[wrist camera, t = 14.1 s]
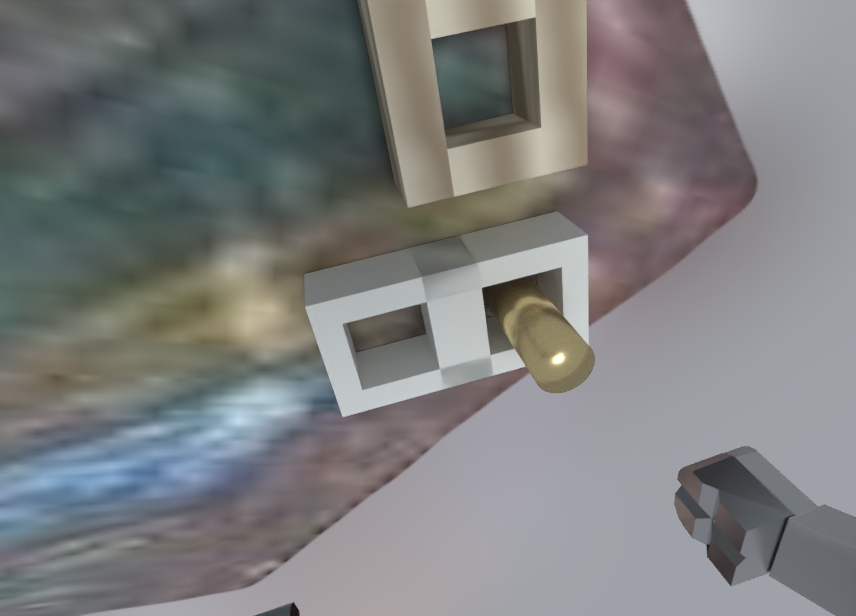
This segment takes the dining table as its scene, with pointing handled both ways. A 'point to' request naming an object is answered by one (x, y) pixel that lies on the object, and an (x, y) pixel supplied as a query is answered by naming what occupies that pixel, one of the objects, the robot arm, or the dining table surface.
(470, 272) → the rack
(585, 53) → the socket block
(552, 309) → the brass peg
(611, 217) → the dining table surface
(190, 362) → the dining table surface
